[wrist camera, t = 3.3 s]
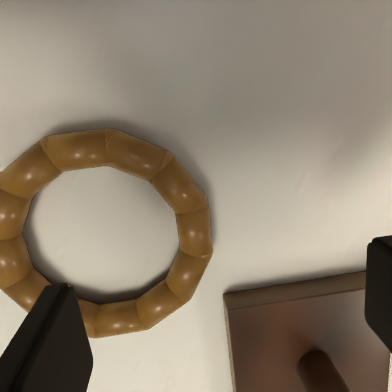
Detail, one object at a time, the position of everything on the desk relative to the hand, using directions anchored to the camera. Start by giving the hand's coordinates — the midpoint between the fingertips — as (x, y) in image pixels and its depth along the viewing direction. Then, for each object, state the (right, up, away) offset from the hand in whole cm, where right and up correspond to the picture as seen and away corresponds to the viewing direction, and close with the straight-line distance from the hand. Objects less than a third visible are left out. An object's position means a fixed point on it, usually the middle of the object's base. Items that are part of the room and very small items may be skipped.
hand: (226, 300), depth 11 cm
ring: (-5, +1, +5) cm, 8 cm away
